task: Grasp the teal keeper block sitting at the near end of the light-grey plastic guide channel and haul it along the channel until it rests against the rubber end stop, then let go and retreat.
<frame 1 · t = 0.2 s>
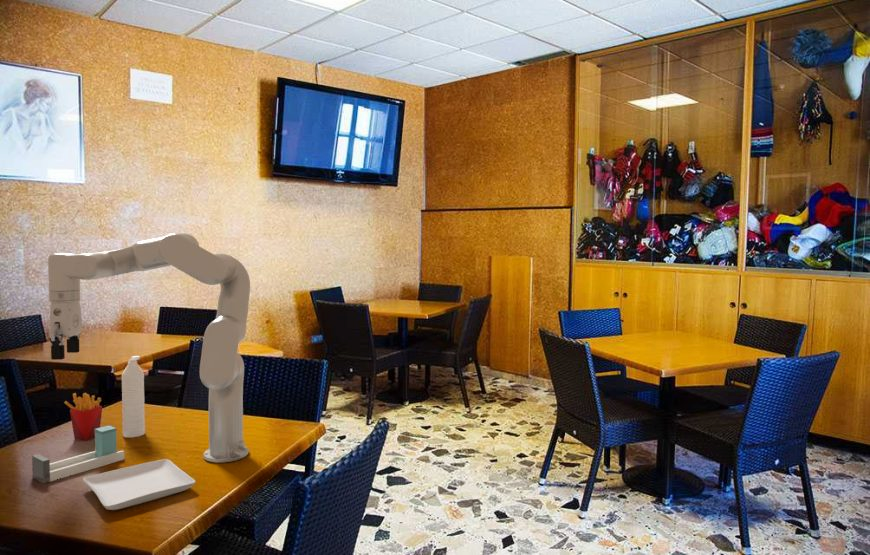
hand: (65, 355, 168), 30 cm above the table, tool pointing down, fingers open, 9 cm apart
channel: (80, 468, 163), on the table
keeper: (105, 442, 169), point 5 cm above the table, slide at 0.0 cm
water bottle: (134, 434, 192), on the table
french fries: (85, 439, 186), on the table
salad plate: (139, 492, 150), on the table
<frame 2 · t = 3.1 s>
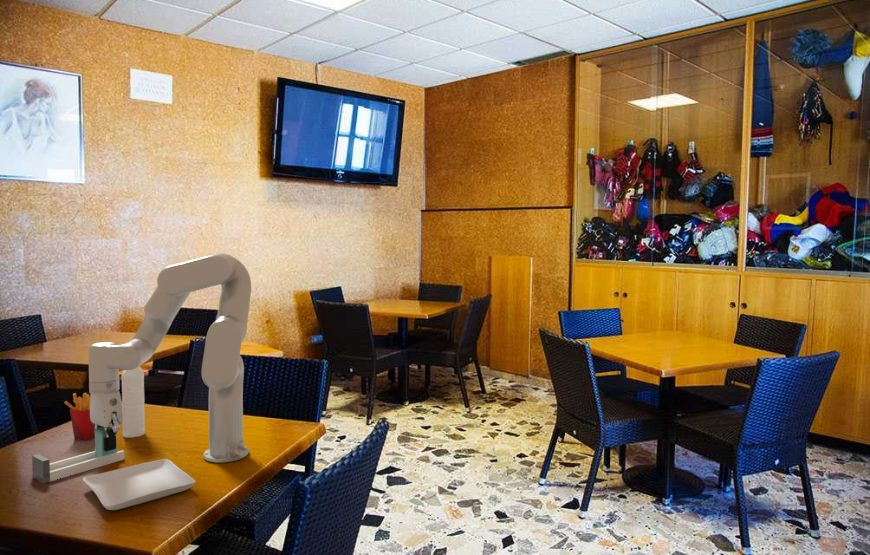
hand: (105, 447, 169), 4 cm above the table, tool pointing down, fingers closed on keeper, 4 cm apart
keeper: (105, 442, 169), point 5 cm above the table, slide at 0.0 cm, touching gripper
everything else where it was.
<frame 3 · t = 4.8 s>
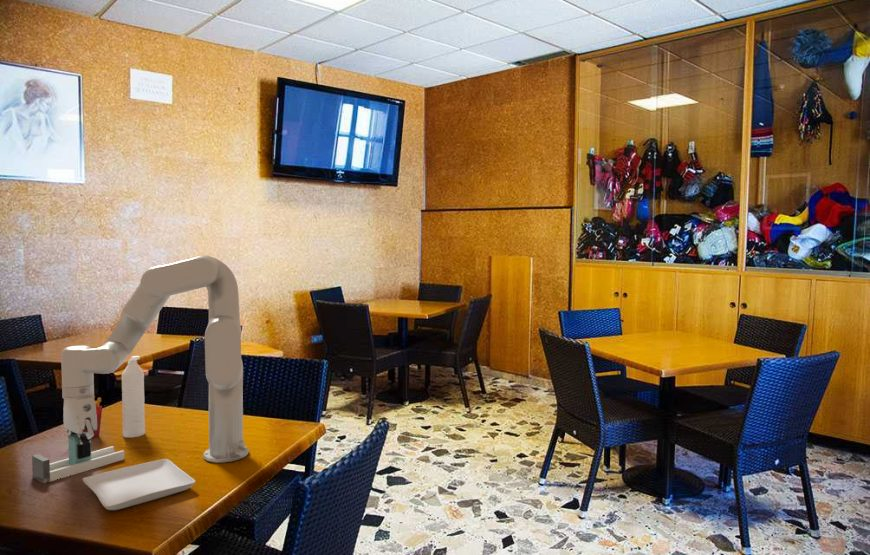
hand: (79, 454, 163), 4 cm above the table, tool pointing down, fingers closed on keeper, 4 cm apart
keeper: (79, 449, 163), point 5 cm above the table, slide at 7.0 cm, touching gripper
everything else where it was.
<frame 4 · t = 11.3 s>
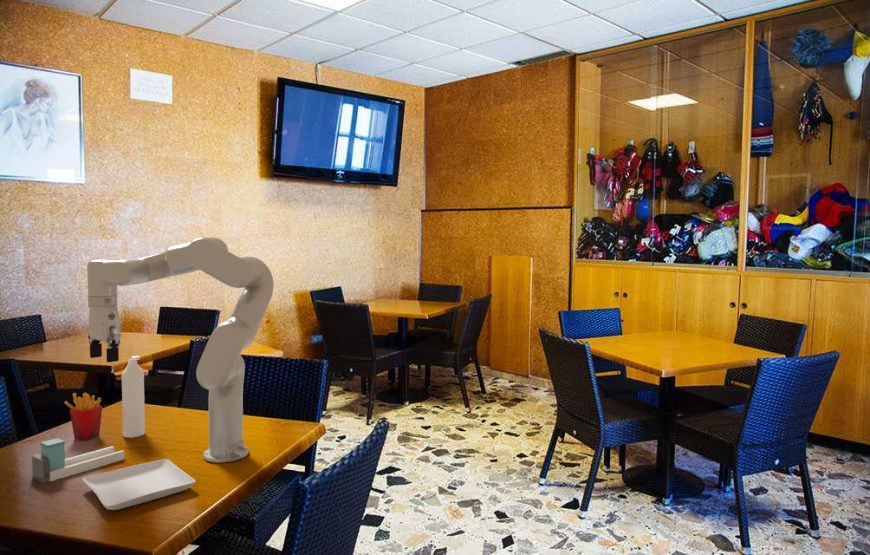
hand: (104, 359, 173), 28 cm above the table, tool pointing down, fingers open, 9 cm apart
keeper: (53, 456, 157), point 5 cm above the table, slide at 13.8 cm
everything else where it was.
at the end: keeper slide at 13.8 cm; the gripper is holding nothing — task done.
